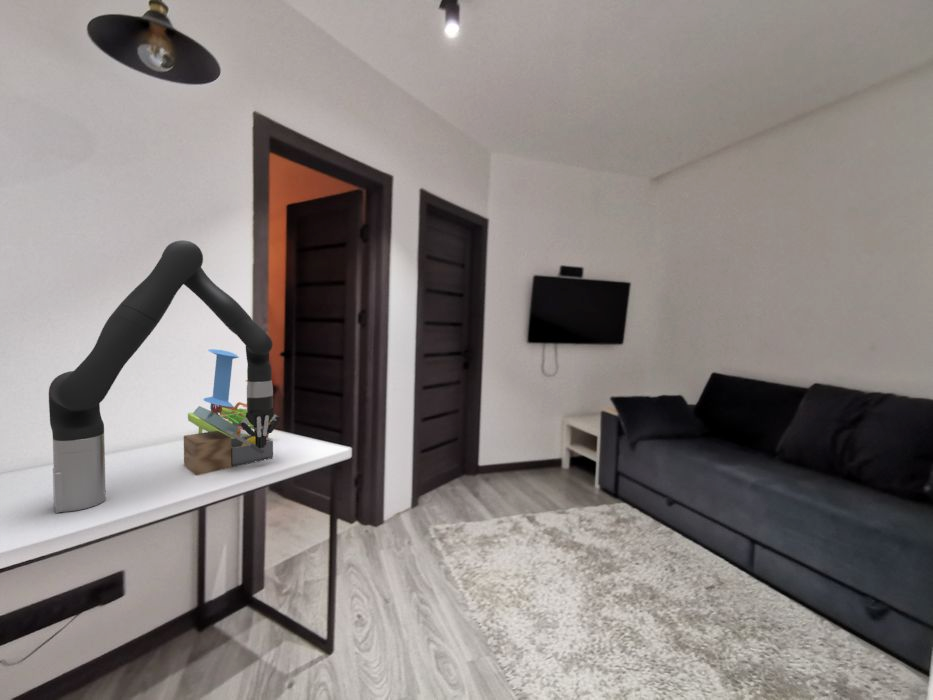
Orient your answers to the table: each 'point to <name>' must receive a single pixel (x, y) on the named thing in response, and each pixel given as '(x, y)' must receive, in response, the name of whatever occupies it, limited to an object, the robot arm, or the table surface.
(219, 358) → the catamaran
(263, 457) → the bin
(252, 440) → the lemon
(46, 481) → the table surface
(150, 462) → the table surface
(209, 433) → the pedestal
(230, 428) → the tray
